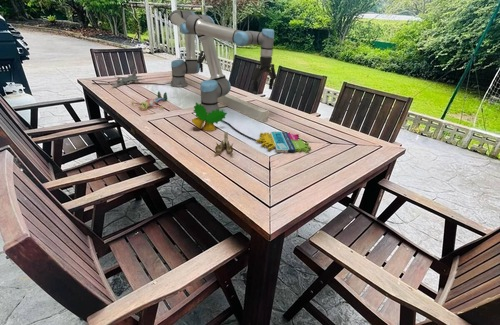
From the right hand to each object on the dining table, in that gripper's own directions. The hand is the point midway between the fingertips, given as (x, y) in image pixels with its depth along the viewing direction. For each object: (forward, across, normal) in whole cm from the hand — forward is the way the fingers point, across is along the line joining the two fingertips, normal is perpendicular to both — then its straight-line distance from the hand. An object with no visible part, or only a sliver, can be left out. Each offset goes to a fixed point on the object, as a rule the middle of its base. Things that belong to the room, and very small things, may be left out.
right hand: (263, 90), depth 175 cm
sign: (+21, +15, +36) cm, 44 cm away
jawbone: (+21, +50, +27) cm, 60 cm away
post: (+21, 0, -34) cm, 40 cm away
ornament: (+21, +40, -4) cm, 45 cm away
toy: (+21, +51, -66) cm, 86 cm away
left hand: (0, 0, -69) cm, 69 cm away
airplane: (+21, +46, -141) cm, 150 cm away
